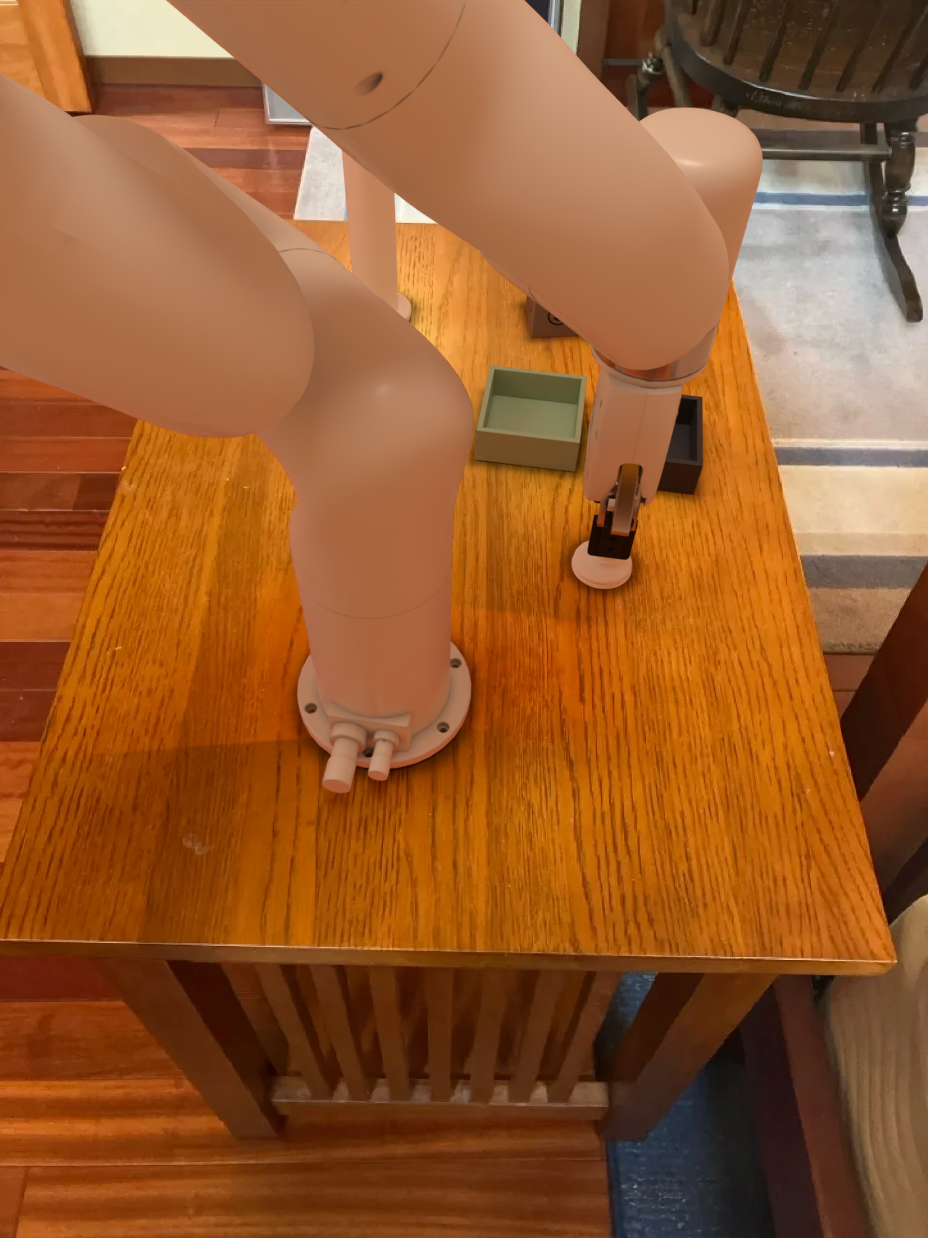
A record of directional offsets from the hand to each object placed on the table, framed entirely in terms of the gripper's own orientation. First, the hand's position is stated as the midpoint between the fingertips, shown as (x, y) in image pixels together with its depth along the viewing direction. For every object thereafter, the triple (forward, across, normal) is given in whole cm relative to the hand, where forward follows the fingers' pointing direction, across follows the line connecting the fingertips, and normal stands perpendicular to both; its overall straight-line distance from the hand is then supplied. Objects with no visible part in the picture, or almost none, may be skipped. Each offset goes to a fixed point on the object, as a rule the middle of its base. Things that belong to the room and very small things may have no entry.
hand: (610, 526), depth 72 cm
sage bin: (+5, -15, -8) cm, 17 cm away
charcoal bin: (+5, -14, +3) cm, 15 cm away
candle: (+5, -30, -25) cm, 39 cm away
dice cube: (+5, -32, -7) cm, 33 cm away
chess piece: (+5, 0, 0) cm, 5 cm away
